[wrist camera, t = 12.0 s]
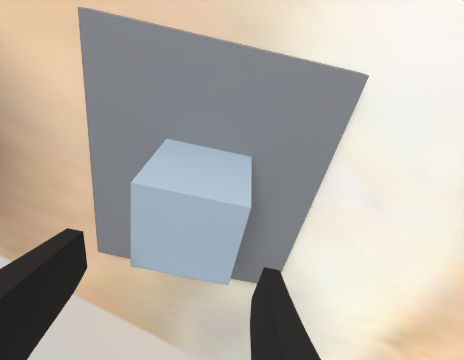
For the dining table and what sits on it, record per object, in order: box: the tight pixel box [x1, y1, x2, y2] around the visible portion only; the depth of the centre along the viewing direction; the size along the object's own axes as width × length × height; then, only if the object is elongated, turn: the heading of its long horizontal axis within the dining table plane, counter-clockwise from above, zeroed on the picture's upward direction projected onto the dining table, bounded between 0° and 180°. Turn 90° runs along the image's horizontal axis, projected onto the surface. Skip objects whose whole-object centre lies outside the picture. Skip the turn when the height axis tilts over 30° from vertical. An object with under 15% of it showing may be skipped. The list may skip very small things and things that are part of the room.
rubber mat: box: [78, 7, 369, 284], centre depth 17 cm, size 14×16×1 cm
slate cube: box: [131, 139, 252, 285], centre depth 14 cm, size 5×5×5 cm
